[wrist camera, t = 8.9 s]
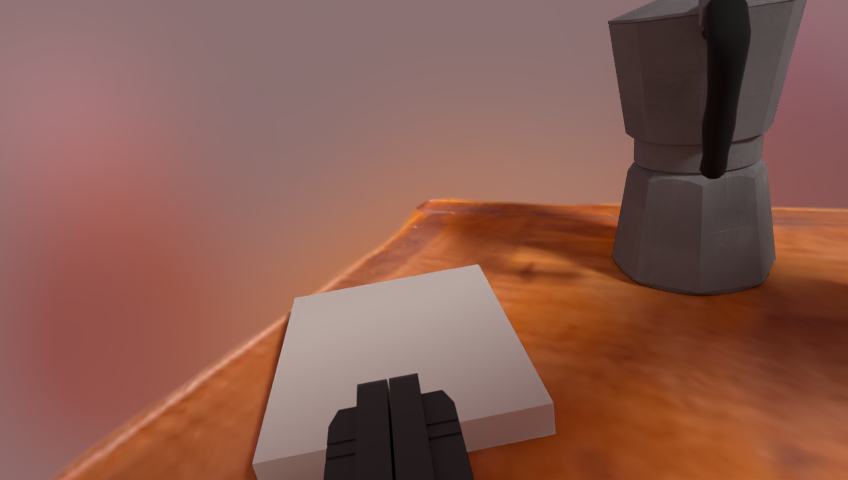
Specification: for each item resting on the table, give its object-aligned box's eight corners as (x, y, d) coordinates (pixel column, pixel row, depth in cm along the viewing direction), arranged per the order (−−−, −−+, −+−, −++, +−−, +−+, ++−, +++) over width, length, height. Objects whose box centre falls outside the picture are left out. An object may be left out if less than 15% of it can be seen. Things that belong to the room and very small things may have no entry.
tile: (556, 442, 21) (481, 291, 34) (553, 403, 20) (478, 264, 33) (265, 502, 20) (302, 324, 33) (252, 464, 20) (294, 298, 33)
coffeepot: (612, 224, 40) (609, -32, 33) (752, 223, 37) (780, -63, 30) (608, 333, 27) (603, -55, 20) (826, 346, 23) (906, -114, 17)
